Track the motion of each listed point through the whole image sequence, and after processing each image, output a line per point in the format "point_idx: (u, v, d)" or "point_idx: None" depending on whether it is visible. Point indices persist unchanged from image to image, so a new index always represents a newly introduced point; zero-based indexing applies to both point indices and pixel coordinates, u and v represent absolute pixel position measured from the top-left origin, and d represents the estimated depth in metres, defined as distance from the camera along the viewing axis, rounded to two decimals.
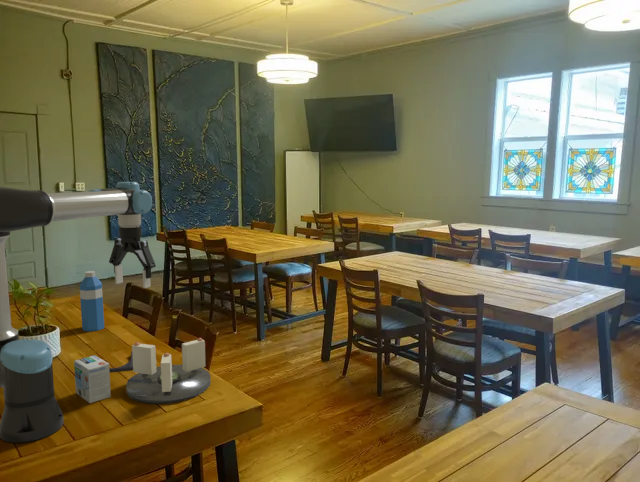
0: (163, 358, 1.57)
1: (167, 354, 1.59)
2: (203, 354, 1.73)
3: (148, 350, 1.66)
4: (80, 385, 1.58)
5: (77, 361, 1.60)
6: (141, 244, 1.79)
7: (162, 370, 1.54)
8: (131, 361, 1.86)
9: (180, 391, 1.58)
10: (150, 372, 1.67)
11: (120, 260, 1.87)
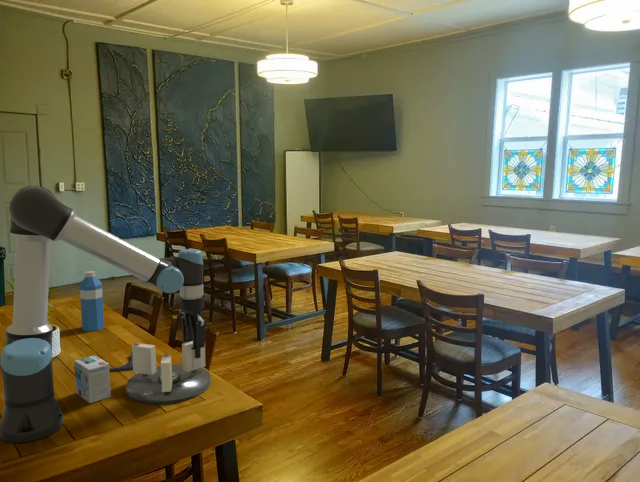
0: (163, 358, 1.57)
1: (167, 354, 1.59)
2: (203, 354, 1.73)
3: (148, 350, 1.66)
4: (80, 385, 1.58)
5: (77, 361, 1.60)
6: (198, 323, 1.66)
7: (162, 370, 1.54)
8: (131, 361, 1.86)
9: (180, 391, 1.58)
10: (150, 372, 1.67)
11: (191, 337, 1.73)
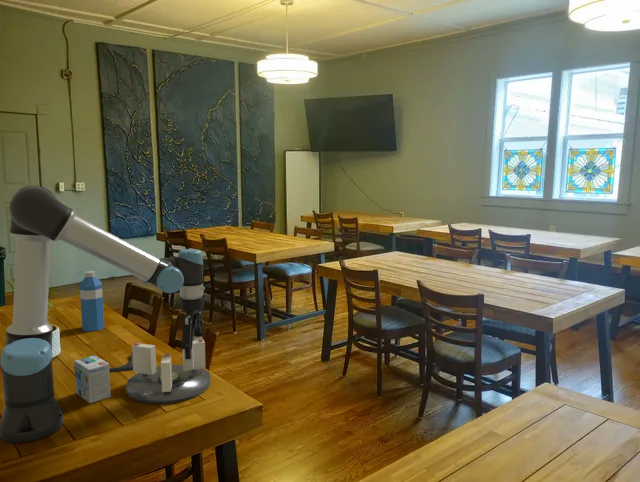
0: (163, 358, 1.57)
1: (167, 354, 1.59)
2: (203, 355, 1.72)
3: (148, 350, 1.66)
4: (80, 385, 1.58)
5: (77, 361, 1.60)
6: None
7: (162, 370, 1.54)
8: (131, 361, 1.86)
9: (180, 391, 1.58)
10: (150, 372, 1.67)
11: (197, 331, 1.76)
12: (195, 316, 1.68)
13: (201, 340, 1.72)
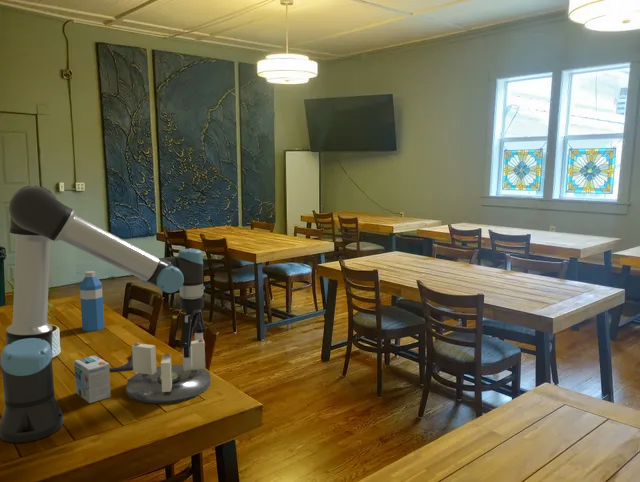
0: (163, 358, 1.57)
1: (167, 354, 1.59)
2: (203, 355, 1.72)
3: (148, 350, 1.66)
4: (80, 385, 1.58)
5: (77, 361, 1.60)
6: None
7: (162, 370, 1.54)
8: (131, 361, 1.86)
9: (180, 391, 1.58)
10: (150, 372, 1.67)
11: (198, 328, 1.77)
12: (195, 315, 1.68)
13: (201, 340, 1.72)
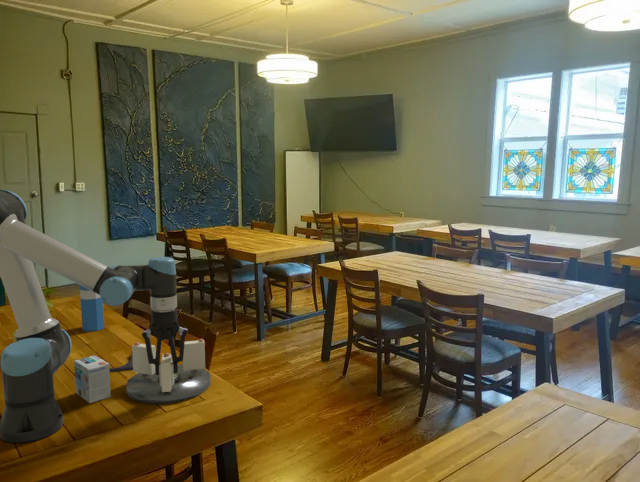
0: (163, 358, 1.57)
1: (167, 354, 1.59)
2: (202, 355, 1.72)
3: None
4: (80, 385, 1.58)
5: (77, 361, 1.60)
6: None
7: (162, 370, 1.54)
8: (131, 361, 1.86)
9: (180, 391, 1.58)
10: (150, 372, 1.67)
11: (171, 354, 1.57)
12: (158, 331, 1.54)
13: (201, 340, 1.72)
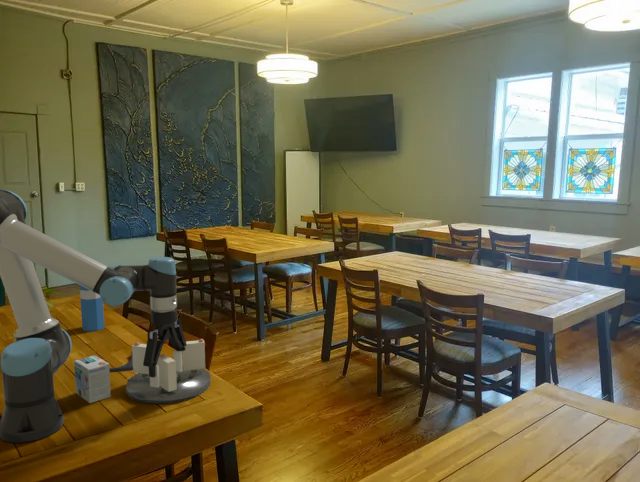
0: (163, 359, 1.57)
1: (163, 354, 1.58)
2: (202, 355, 1.72)
3: None
4: (80, 385, 1.58)
5: (77, 361, 1.60)
6: None
7: (169, 369, 1.54)
8: (131, 361, 1.86)
9: (180, 391, 1.58)
10: None
11: (176, 345, 1.62)
12: (165, 331, 1.53)
13: (201, 340, 1.72)
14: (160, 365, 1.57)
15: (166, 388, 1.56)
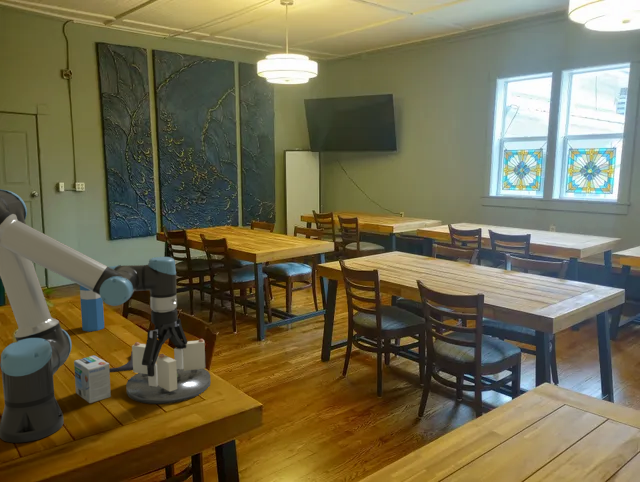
0: (163, 359, 1.57)
1: (163, 355, 1.58)
2: (202, 355, 1.72)
3: None
4: (80, 385, 1.58)
5: (77, 361, 1.60)
6: None
7: (169, 369, 1.54)
8: (131, 361, 1.86)
9: (180, 391, 1.58)
10: None
11: (177, 344, 1.62)
12: (165, 330, 1.53)
13: (201, 340, 1.72)
14: (160, 365, 1.57)
15: (167, 388, 1.56)
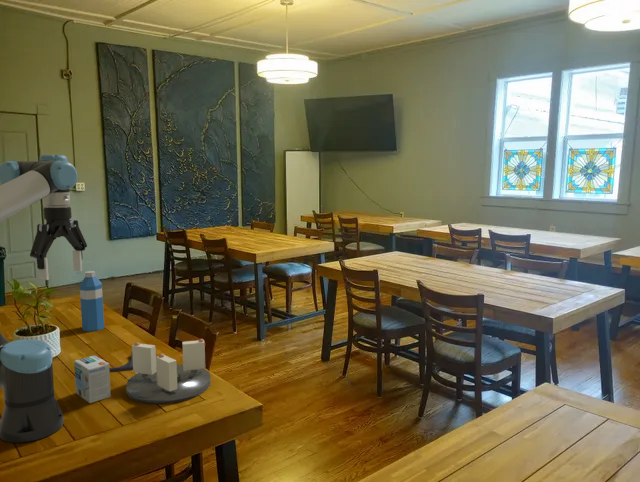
0: (163, 359, 1.57)
1: (163, 355, 1.58)
2: (202, 355, 1.72)
3: (148, 350, 1.66)
4: (80, 385, 1.58)
5: (77, 361, 1.60)
6: None
7: (170, 369, 1.54)
8: (131, 361, 1.86)
9: (180, 391, 1.58)
10: (150, 372, 1.67)
11: (74, 245, 1.65)
12: (57, 227, 1.56)
13: (201, 340, 1.72)
14: (160, 365, 1.57)
15: (167, 388, 1.56)
